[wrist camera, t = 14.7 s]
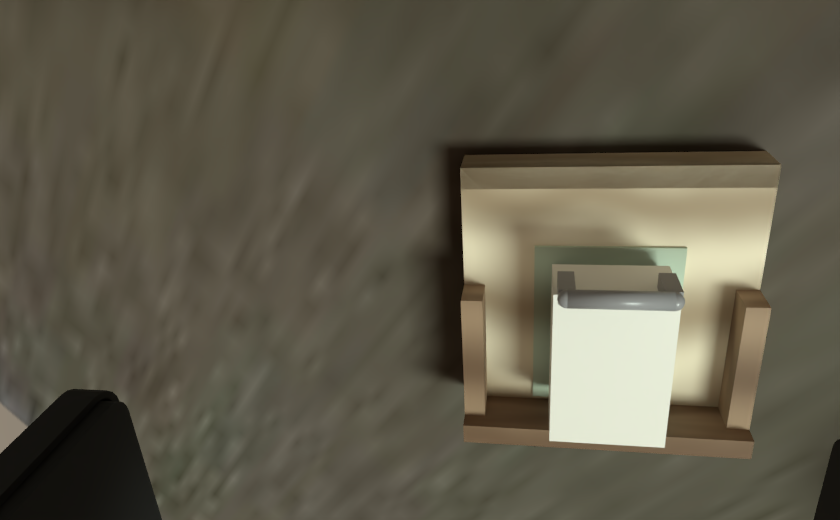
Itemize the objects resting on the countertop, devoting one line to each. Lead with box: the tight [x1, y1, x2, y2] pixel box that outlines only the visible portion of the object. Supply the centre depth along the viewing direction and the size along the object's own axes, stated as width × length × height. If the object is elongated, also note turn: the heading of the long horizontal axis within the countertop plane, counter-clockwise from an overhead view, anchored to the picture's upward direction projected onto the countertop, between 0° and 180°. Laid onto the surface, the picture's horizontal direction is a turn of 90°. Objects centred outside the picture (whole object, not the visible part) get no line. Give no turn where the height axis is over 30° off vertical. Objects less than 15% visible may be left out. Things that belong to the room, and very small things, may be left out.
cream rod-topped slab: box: [548, 264, 685, 448], centre depth 35 cm, size 10×6×6 cm, turn 3°
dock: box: [460, 151, 781, 459], centre depth 37 cm, size 16×16×6 cm
